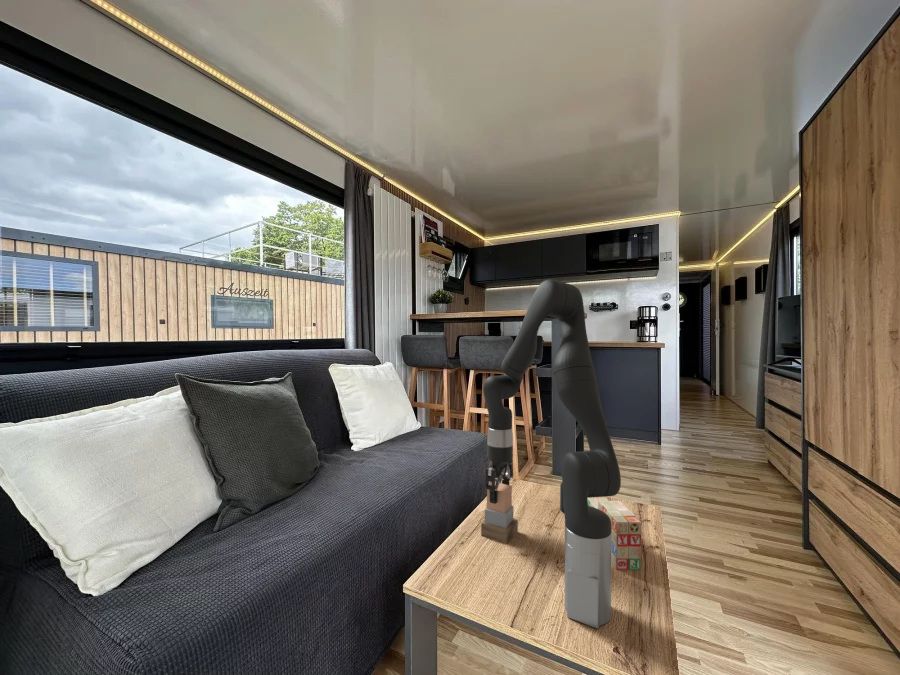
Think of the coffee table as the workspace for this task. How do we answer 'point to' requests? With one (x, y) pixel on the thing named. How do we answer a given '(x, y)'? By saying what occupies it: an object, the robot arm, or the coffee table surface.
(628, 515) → the stack of blocks
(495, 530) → the tower base block
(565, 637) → the coffee table surface
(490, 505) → the terracotta block
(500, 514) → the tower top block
